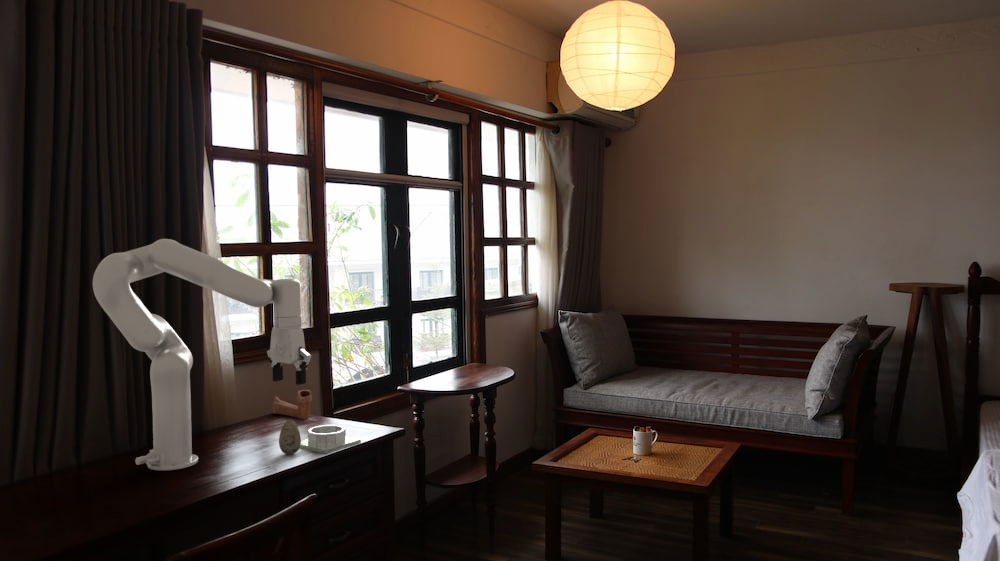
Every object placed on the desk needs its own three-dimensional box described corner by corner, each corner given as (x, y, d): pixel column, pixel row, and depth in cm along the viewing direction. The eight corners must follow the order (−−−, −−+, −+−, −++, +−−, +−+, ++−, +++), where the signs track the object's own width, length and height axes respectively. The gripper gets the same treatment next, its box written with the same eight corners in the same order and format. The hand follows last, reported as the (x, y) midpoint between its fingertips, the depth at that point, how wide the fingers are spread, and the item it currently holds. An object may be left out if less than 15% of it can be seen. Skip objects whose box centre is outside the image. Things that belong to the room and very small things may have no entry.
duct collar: (325, 453, 204) (325, 438, 204) (292, 446, 212) (292, 431, 212) (360, 442, 216) (360, 427, 216) (328, 435, 224) (328, 421, 224)
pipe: (304, 422, 242) (303, 392, 241) (269, 414, 252) (268, 386, 251) (315, 419, 246) (315, 390, 245) (280, 412, 256) (280, 384, 255)
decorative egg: (304, 454, 204) (304, 419, 204) (285, 458, 200) (285, 423, 199) (294, 450, 208) (293, 416, 208) (275, 454, 204) (274, 419, 203)
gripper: (257, 322, 204) (258, 381, 205) (298, 325, 194) (299, 387, 195) (278, 319, 210) (279, 377, 211) (319, 322, 201) (320, 383, 202)
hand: (289, 382), depth 203 cm, fingers open, 9 cm apart
